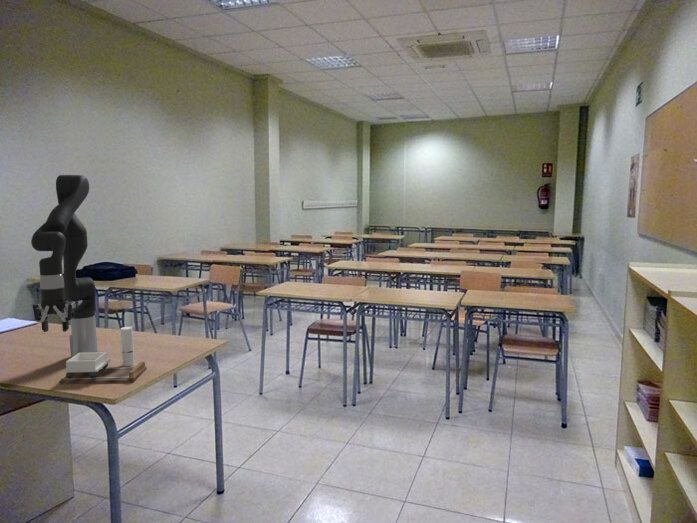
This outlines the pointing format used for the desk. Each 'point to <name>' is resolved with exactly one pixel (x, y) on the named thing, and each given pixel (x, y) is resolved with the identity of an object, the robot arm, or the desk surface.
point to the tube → (127, 346)
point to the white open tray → (86, 363)
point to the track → (107, 375)
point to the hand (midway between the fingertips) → (55, 331)
